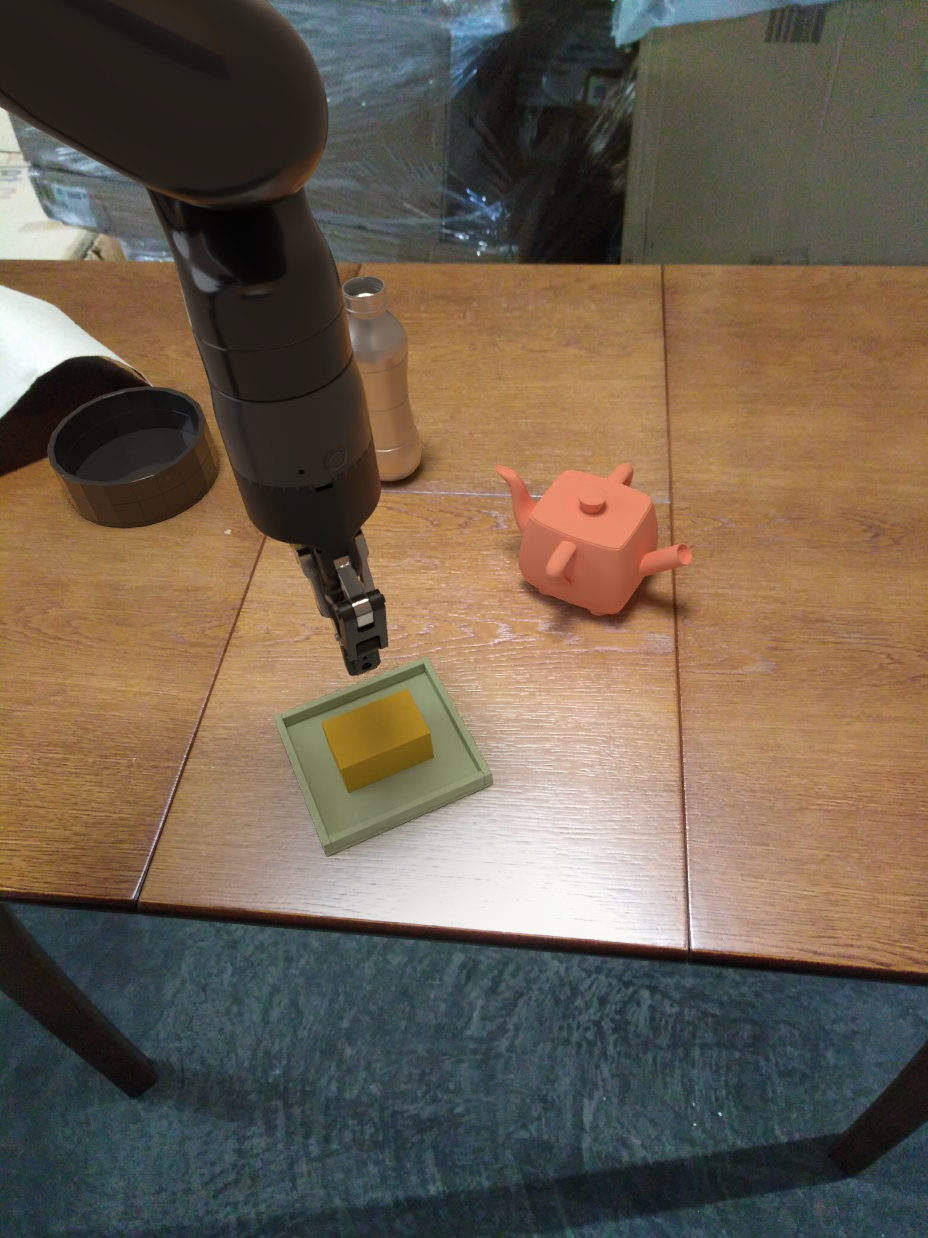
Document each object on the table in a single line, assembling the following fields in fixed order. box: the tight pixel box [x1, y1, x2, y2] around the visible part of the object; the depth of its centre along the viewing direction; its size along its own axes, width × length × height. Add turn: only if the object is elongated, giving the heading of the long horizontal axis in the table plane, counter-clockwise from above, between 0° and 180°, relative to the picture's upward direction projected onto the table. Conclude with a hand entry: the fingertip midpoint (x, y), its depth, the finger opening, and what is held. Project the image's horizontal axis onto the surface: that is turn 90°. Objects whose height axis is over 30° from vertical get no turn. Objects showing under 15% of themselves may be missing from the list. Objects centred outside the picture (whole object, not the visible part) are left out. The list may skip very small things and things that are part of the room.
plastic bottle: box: [341, 275, 423, 482], centre depth 83 cm, size 6×7×20 cm
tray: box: [273, 655, 493, 857], centre depth 69 cm, size 13×12×2 cm
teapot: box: [494, 462, 693, 617], centre depth 76 cm, size 14×12×10 cm
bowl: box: [46, 385, 220, 528], centre depth 90 cm, size 15×15×6 cm
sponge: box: [321, 688, 434, 793], centre depth 67 cm, size 7×4×4 cm, turn 115°
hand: (349, 637), depth 59 cm, fingers open, 5 cm apart
